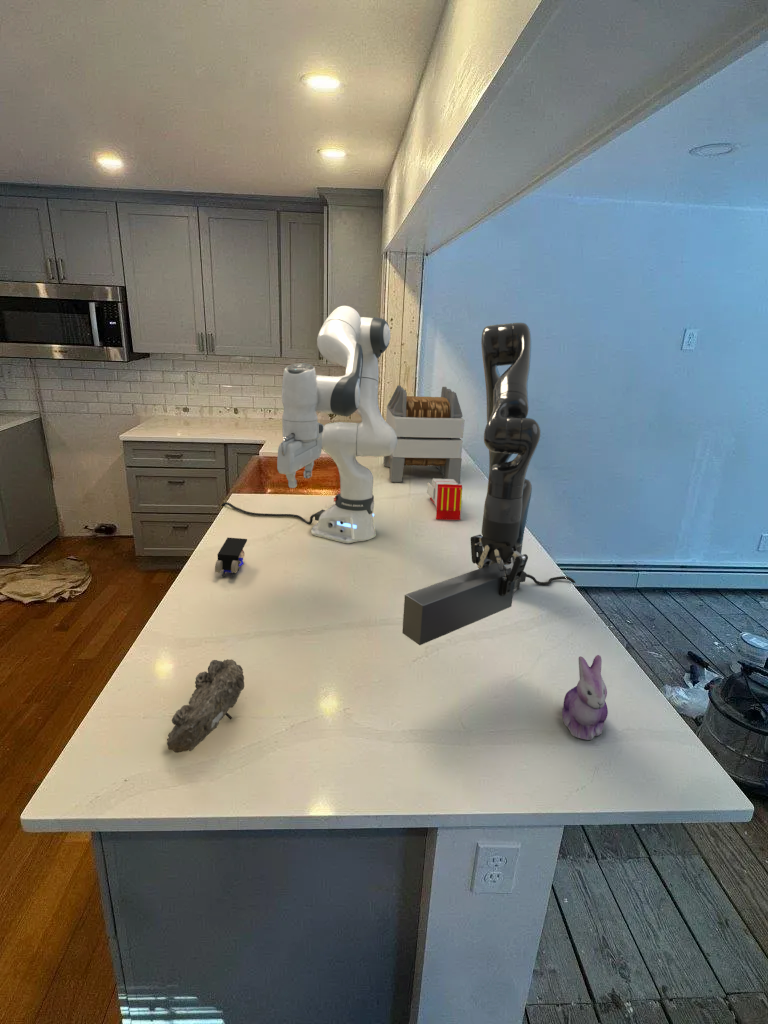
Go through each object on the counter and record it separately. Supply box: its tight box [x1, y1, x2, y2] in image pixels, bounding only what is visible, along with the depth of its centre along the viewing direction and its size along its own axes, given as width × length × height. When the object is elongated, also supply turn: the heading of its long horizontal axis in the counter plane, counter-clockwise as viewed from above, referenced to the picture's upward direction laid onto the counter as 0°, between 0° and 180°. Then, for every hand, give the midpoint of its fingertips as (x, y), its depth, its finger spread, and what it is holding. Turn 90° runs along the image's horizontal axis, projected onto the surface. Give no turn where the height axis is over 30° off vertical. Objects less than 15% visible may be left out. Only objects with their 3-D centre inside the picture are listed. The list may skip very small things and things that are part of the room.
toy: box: [426, 478, 463, 521], centre depth 226 cm, size 12×13×30 cm
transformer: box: [383, 384, 465, 484], centre depth 268 cm, size 34×33×41 cm
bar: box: [401, 563, 515, 646], centre depth 115 cm, size 26×5×8 cm, turn 128°
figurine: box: [561, 654, 609, 741], centre depth 108 cm, size 9×10×15 cm
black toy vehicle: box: [214, 537, 248, 578], centre depth 166 cm, size 7×8×15 cm
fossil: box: [166, 658, 245, 754], centre depth 106 cm, size 22×10×15 cm
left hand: (300, 482), depth 148 cm, fingers open, 8 cm apart
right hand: (493, 589), depth 121 cm, fingers closed on bar, 5 cm apart
